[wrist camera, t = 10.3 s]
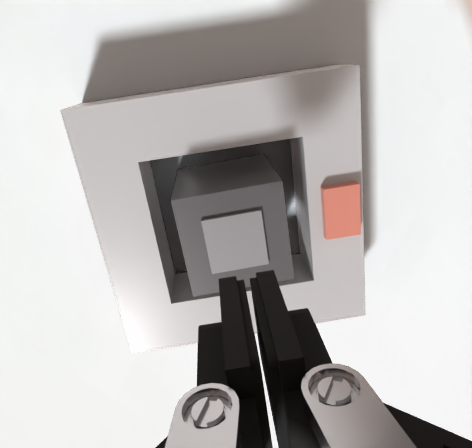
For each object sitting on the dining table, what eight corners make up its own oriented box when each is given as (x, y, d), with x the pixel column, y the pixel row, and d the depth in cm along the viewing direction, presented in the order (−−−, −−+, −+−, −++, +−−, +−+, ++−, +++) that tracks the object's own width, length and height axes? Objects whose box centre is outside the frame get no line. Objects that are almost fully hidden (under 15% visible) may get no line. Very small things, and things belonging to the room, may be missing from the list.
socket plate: (81, 103, 19) (56, 111, 15) (336, 64, 19) (364, 64, 16) (140, 318, 23) (130, 360, 20) (346, 285, 23) (369, 320, 20)
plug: (177, 169, 20) (170, 201, 16) (264, 154, 20) (283, 181, 16) (194, 247, 22) (193, 298, 17) (274, 233, 22) (295, 280, 17)
